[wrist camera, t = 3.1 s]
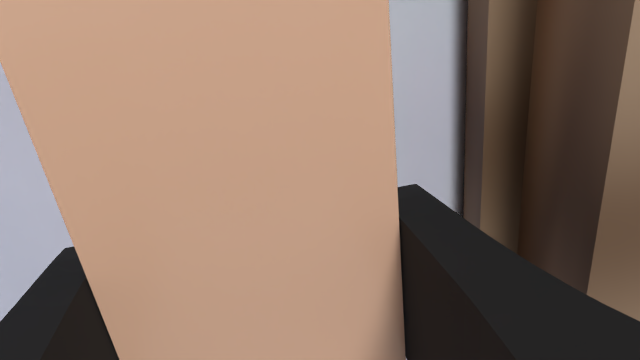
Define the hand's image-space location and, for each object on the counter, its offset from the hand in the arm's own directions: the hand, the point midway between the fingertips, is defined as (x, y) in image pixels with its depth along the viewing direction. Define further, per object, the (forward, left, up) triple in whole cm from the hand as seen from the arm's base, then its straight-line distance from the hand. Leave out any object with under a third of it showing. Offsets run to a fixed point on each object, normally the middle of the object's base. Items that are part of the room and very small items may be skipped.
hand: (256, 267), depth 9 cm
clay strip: (0, 0, -2) cm, 2 cm away
